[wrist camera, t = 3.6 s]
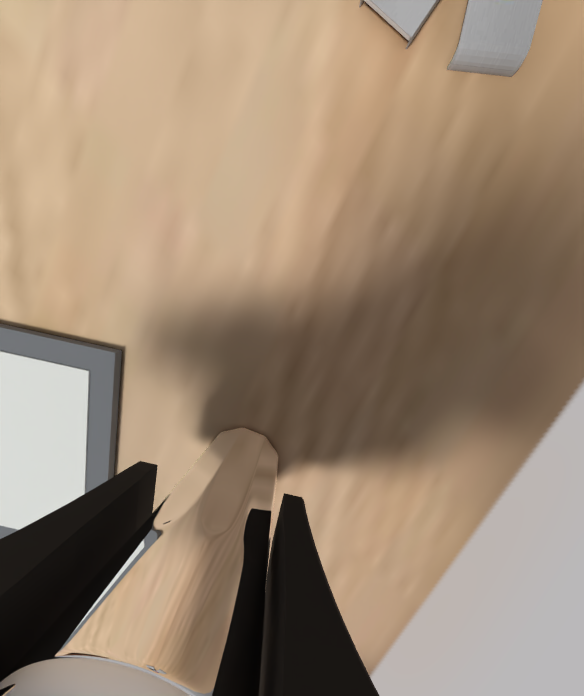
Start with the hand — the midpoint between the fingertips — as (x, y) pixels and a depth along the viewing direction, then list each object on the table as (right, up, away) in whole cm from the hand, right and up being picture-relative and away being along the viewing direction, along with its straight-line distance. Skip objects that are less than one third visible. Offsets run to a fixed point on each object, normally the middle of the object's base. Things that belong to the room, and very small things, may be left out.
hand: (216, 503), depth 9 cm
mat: (-11, +1, +3) cm, 12 cm away
